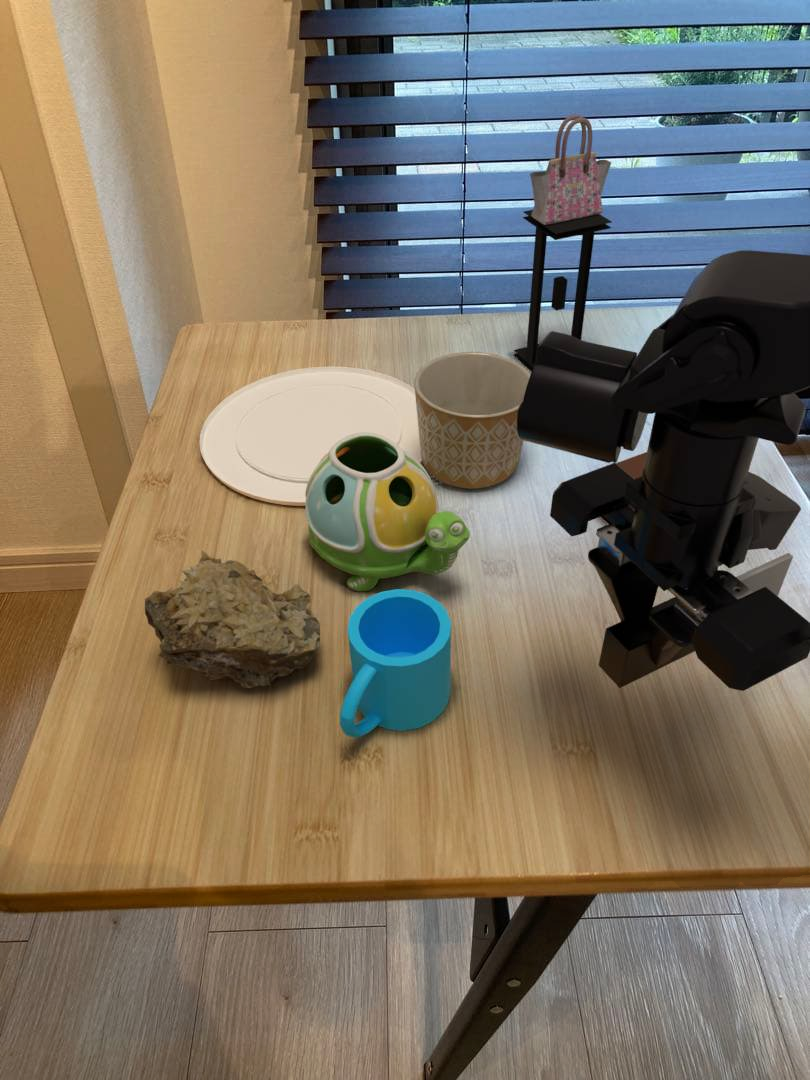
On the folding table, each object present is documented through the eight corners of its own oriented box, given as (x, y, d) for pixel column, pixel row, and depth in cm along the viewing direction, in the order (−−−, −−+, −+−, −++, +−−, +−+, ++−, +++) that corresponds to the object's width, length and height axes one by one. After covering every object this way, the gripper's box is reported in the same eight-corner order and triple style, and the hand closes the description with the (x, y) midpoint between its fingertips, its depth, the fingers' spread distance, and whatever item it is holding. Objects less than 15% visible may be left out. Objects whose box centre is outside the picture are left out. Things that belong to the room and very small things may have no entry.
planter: (521, 430, 100) (529, 352, 93) (530, 498, 91) (540, 417, 84) (414, 428, 100) (415, 350, 93) (412, 496, 91) (413, 415, 84)
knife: (619, 688, 59) (629, 646, 56) (597, 665, 60) (606, 623, 57) (786, 606, 64) (803, 564, 61) (762, 587, 66) (778, 544, 63)
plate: (430, 367, 111) (430, 362, 111) (444, 502, 90) (444, 497, 90) (217, 375, 111) (217, 370, 110) (182, 512, 90) (181, 507, 90)
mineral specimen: (345, 602, 80) (336, 522, 73) (311, 713, 70) (297, 633, 64) (200, 586, 82) (178, 508, 75) (147, 692, 72) (118, 613, 66)
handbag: (532, 383, 108) (553, 133, 88) (504, 357, 113) (518, 114, 93) (602, 365, 111) (638, 118, 91) (572, 340, 116) (599, 101, 96)
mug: (389, 640, 76) (385, 575, 71) (468, 678, 73) (470, 613, 67) (306, 735, 69) (295, 671, 63) (389, 782, 65) (385, 719, 60)
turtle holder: (414, 639, 76) (412, 541, 68) (284, 548, 86) (268, 453, 78) (500, 568, 83) (507, 471, 75) (370, 491, 92) (364, 398, 84)
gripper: (924, 521, 46) (834, 697, 57) (688, 369, 59) (650, 536, 69) (775, 593, 42) (708, 767, 53) (556, 414, 55) (537, 584, 65)
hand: (648, 649), depth 60 cm, fingers closed on knife, 2 cm apart
